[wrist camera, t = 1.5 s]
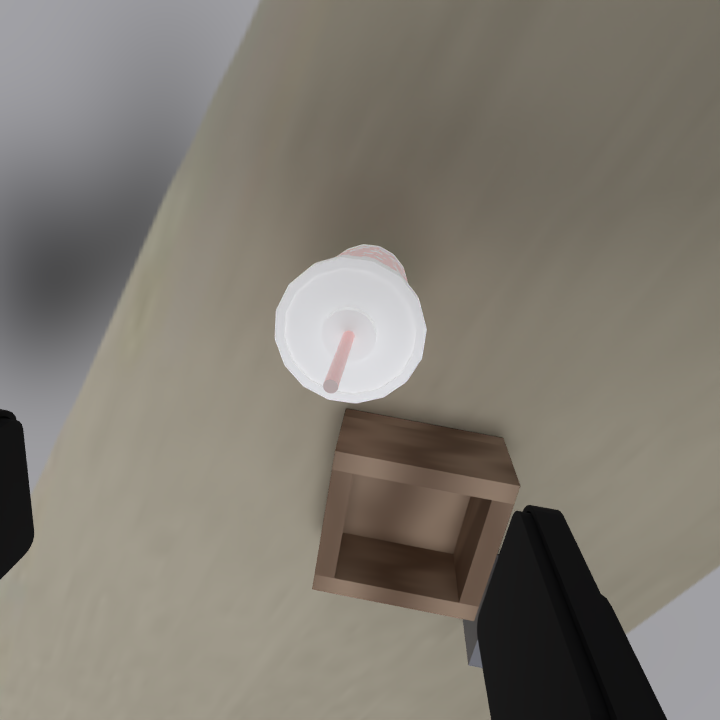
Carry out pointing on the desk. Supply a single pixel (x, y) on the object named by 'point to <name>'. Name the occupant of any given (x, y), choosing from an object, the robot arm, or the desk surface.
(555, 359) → the desk surface
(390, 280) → the beverage cup
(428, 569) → the open wooden cube shelf
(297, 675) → the desk surface
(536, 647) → the robot arm
